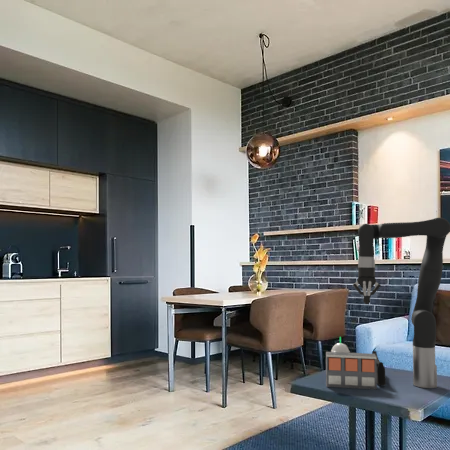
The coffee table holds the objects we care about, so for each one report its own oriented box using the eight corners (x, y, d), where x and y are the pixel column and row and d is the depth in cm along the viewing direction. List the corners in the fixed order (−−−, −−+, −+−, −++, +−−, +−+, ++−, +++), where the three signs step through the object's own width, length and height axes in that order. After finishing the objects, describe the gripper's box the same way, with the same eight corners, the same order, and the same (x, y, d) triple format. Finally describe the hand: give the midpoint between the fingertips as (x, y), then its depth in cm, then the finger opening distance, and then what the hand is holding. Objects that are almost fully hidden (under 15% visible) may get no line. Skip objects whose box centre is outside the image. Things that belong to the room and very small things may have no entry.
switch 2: (356, 368, 214) (356, 357, 215) (357, 371, 210) (357, 359, 210) (344, 368, 215) (344, 356, 216) (345, 370, 210) (345, 359, 211)
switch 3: (372, 369, 213) (372, 358, 214) (374, 372, 208) (374, 360, 209) (361, 369, 214) (361, 357, 214) (362, 371, 209) (362, 359, 210)
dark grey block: (374, 386, 215) (374, 353, 216) (376, 389, 208) (376, 356, 210) (326, 383, 218) (325, 351, 219) (326, 387, 212) (326, 354, 213)
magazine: (386, 368, 210) (377, 337, 239) (378, 367, 211) (370, 337, 239) (385, 404, 214) (376, 369, 242) (377, 403, 214) (370, 369, 243)
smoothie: (348, 379, 226) (348, 335, 228) (351, 384, 218) (351, 338, 219) (330, 379, 227) (330, 335, 228) (332, 383, 219) (332, 338, 220)
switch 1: (340, 368, 216) (340, 356, 216) (340, 370, 211) (340, 358, 211) (328, 367, 216) (328, 356, 217) (329, 370, 211) (328, 358, 212)
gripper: (380, 266, 231) (380, 303, 230) (351, 266, 233) (351, 303, 232) (382, 266, 224) (382, 305, 222) (352, 266, 226) (352, 304, 224)
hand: (366, 303), depth 227 cm, fingers closed
